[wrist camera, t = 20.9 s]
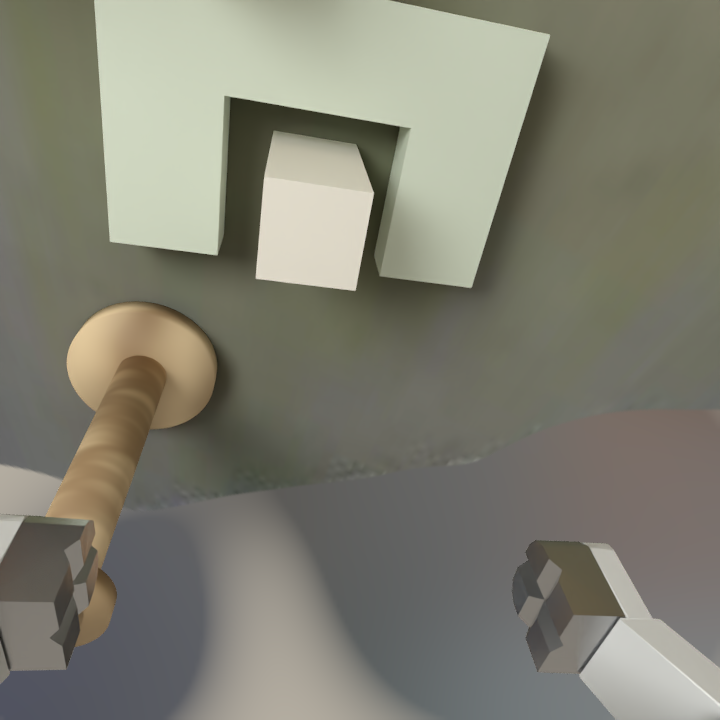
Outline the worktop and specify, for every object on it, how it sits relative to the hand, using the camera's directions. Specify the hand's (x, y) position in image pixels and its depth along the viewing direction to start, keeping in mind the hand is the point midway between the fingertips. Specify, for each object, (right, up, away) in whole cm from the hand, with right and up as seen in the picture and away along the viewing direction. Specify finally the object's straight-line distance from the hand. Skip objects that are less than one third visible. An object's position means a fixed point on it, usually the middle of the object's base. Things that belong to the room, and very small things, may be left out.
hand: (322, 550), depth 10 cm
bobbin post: (-13, +3, +27) cm, 30 cm away
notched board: (-2, +16, +20) cm, 25 cm away
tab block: (-2, +14, +21) cm, 25 cm away
